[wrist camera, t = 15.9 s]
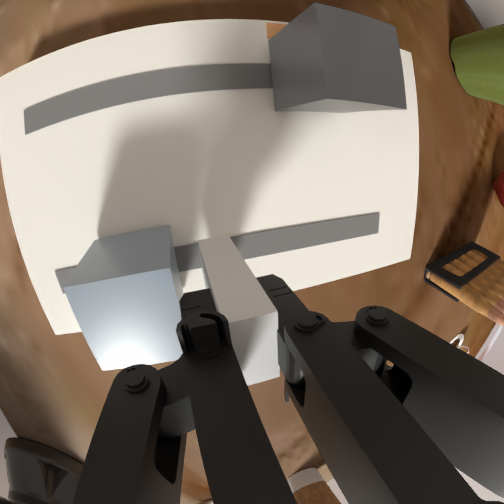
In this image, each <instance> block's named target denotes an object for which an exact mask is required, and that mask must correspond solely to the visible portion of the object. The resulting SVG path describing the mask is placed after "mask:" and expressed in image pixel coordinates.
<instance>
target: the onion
mask: <svg viewBox="0 0 504 504" xmlns="http://www.w3.org/2000/svg"><path fill="white" fill-rule="evenodd" d="M493 188H494V190H495V192H496V194H497V197H498V199H499V201H500V203H501V205H502V206H503V207H504V171H503V172H502V173H501V174H500V175H499V176H498V178H497V179H496V180H494V182H493Z"/></svg>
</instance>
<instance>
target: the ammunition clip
mask: <svg viewBox="0 0 504 504" xmlns="http://www.w3.org/2000/svg"><path fill="white" fill-rule="evenodd" d="M424 281H425V282H426V283H428V284H430V285H431V286H433V287H434V288H436V289H438V290H439V291H441V292H442V293H444V294H445V295H447V296H448V297H450V298H451V299H453V300H455V301H456V302H458V301H459V300H460V301H462V302H463V303H465V304H466V305H467V306H469V307H470V308H472V309H473V310H475V311H476V312H479V313H481V314H483V315H485V316H486V317H488V318H490V319H491V320H493V321H494V322H496V323H498V324H500V325H502V326H504V261H503V260H501V259H500V256H498V255H497V254H495V253H493V252H491V251H489V250H487V249H486V248H484V247H482V246H480V245H478V244H476V243H474V242H470V243H468V244H466V245H465V246H463V247H461V248H459V249H458V250H456V251H454V252H452V253H450V254H448V255H446V256H445V257H443V258H441V259H439V260H437V261H435V262H433V263H431V264H429V265H427V266H426V271H425V278H424Z"/></svg>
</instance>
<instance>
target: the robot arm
mask: <svg viewBox="0 0 504 504" xmlns="http://www.w3.org/2000/svg"><path fill="white" fill-rule="evenodd" d="M198 246H199V253H200V259H201V264H202V270H203V276H204V281H205V287H206V289H202V290H197V291H192V292H187V293H184V294H183V296H182V298H181V299H180V301H179V302H180V310H181V321H180V322H179V323H178V324H177V328H176V333H177V336H178V340H179V343H180V346H181V349H182V352H183V354H182V355H181V356H180V358H179V359H178V360H177V361H175V362H174V363H173V364H171V365H169V366H167V367H165V368H162V369H160V370H158V371H157V369H155V368H154V367H152V366H151V365H146V364H136V365H132V366H129V367H127V368H125V369H123V370H122V371H121V372H119V373H118V374H117V376H116V377H115V379H114V381H113V383H112V386H111V388H110V391H109V393H108V396H107V399H106V401H105V404H104V406H103V409H102V412H101V415H100V417H99V420H98V423H97V426H96V429H95V432H94V434H93V437H92V440H91V443H90V446H89V449H88V453H87V456H86V459H85V462H84V465H83V464H81V463H80V462H78V461H76V460H75V459H73V458H71V457H69V456H67V455H65V454H63V453H61V452H59V451H56V450H54V449H52V448H49V447H47V446H44V445H42V444H39V443H36V442H33V441H30V440H26V439H22V438H8V439H7V440H6V443H5V448H4V457H5V459H6V466H7V476H8V482H9V495H8V500H7V499H5V498H3V497H2V496H0V504H180V495H181V484H182V474H183V464H184V455H185V446H186V437H187V433H188V432H190V431H192V430H194V429H196V433H197V438H198V443H199V447H200V452H201V456H202V461H203V465H204V469H205V473H206V477H207V481H208V485H209V489H210V492H211V496H212V500H213V503H214V504H298V503H297V501H296V499H295V497H294V495H293V493H292V491H291V488H290V486H289V484H288V482H287V480H286V477H285V475H284V473H283V471H282V469H281V466H280V464H279V462H278V460H277V457H276V455H275V453H274V450H273V448H272V446H271V443H270V441H269V439H268V436H267V434H266V431H265V429H264V426H263V424H262V422H261V419H260V417H259V414H258V412H257V409H256V407H255V404H254V402H253V399H252V397H251V394H250V391H249V389H248V385H251V384H255V383H259V382H263V381H266V380H270V379H273V378H277V377H280V372H279V366H280V368H281V370H282V372H283V374H284V376H285V401H286V402H287V401H289V396H290V398H291V400H292V402H293V403H294V405H295V407H296V409H297V411H298V413H299V415H300V417H301V419H302V420H303V422H304V424H305V426H306V428H307V430H308V432H309V434H310V435H311V437H312V439H313V441H314V443H315V445H316V446H317V448H318V450H319V452H320V454H321V456H322V457H323V459H324V461H325V463H326V464H327V466H328V468H329V470H330V472H331V473H332V475H333V477H334V479H335V480H336V482H337V484H338V486H339V487H340V489H341V490H342V493H343V494H344V496H345V498H346V500H347V501H348V503H349V504H504V503H503V502H500V501H485V500H482V499H481V498H479V497H478V496H477V494H476V493H475V492H474V491H473V489H472V488H471V487H470V486H469V485H468V483H467V482H466V481H465V480H464V478H463V477H462V476H461V475H460V473H459V472H458V471H457V470H456V468H457V469H459V470H460V471H462V472H463V473H465V474H466V475H467V476H469V477H470V478H472V479H473V480H475V481H476V482H478V483H479V484H481V485H482V486H484V487H486V488H487V489H489V490H490V491H492V492H493V493H495V494H497V495H498V496H500V497H502V498H504V375H502V374H501V373H499V372H498V371H496V370H494V369H493V368H491V367H489V366H488V365H486V364H484V363H483V362H481V361H479V360H478V359H475V358H474V357H472V356H471V355H469V354H467V353H466V352H464V351H462V350H460V349H459V348H457V347H455V346H453V345H452V344H450V343H448V342H447V341H445V340H443V339H441V338H440V337H438V336H436V335H434V334H433V333H431V332H429V331H427V330H426V329H424V328H422V327H420V326H419V325H417V324H415V323H413V322H411V321H410V320H408V319H406V318H404V317H403V316H401V315H399V314H397V313H395V312H394V311H392V310H390V309H388V308H385V307H382V306H367V307H364V308H362V309H360V310H359V311H358V312H357V315H356V319H355V321H349V322H331V321H330V320H329V319H328V318H327V317H325V316H324V315H323V314H320V313H317V312H313V311H309V310H308V309H307V308H306V307H305V305H304V304H303V303H302V302H301V301H300V299H299V298H298V297H297V296H296V295H295V293H293V291H292V290H291V288H290V287H288V285H287V284H286V282H285V281H284V280H283V279H282V278H280V277H278V276H276V275H274V274H271V275H266V276H261V277H257V278H256V277H255V276H254V274H253V273H252V271H251V270H250V268H249V266H248V265H247V263H246V262H245V260H244V259H243V257H242V256H241V254H240V253H239V251H238V249H237V248H236V246H235V245H234V243H233V242H232V240H231V239H230V237H229V235H224V236H219V237H213V238H207V239H202V240H198ZM387 360H389V361H390V362H392V363H393V364H394V365H393V367H392V366H388V365H386V362H387ZM455 467H456V468H455Z"/></svg>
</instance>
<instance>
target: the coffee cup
mask: <svg viewBox="0 0 504 504" xmlns="http://www.w3.org/2000/svg"><path fill="white" fill-rule="evenodd" d="M288 482H289V485H290V488H291V490H292V493H293V495H294V497H295V499H296V501H297V503H298V504H341V503H340V502H339V500H338V499H337V498H336V496H335V495H334V493H333V492H332V491H331V489H330V488H329V486H328V485H327V484H326V482H325V481H324V480H323V478H322V477H321V475H320V473H319V472H318V470H317V469H316V468H308V469H304V470H301V471H299V472H297V473H295V474H293V475H291V476H290V477H289V478H288Z"/></svg>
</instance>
